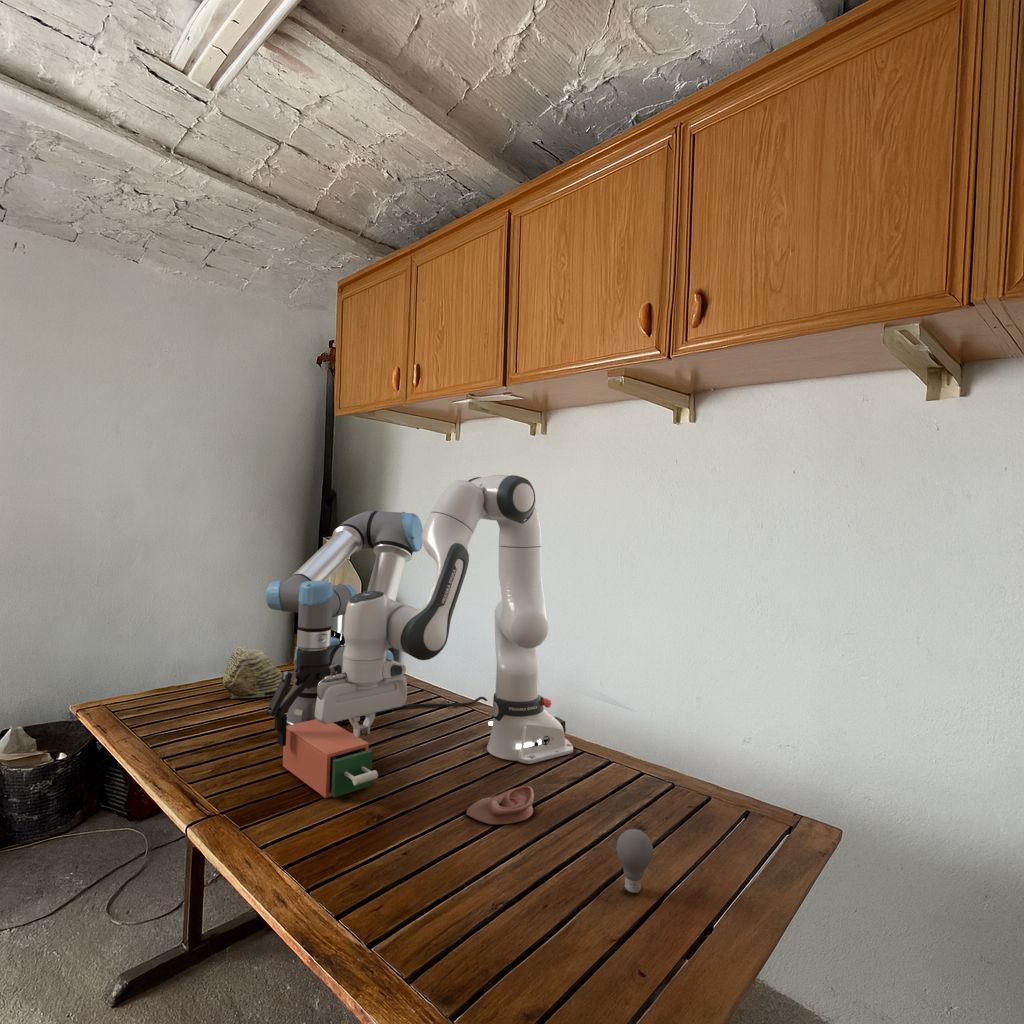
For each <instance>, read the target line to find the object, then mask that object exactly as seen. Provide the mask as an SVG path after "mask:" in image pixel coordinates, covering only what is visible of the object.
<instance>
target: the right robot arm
mask: <svg viewBox="0 0 1024 1024" xmlns="http://www.w3.org/2000/svg"><path fill="white" fill-rule="evenodd" d="M538 512H539V511H538V509H537V508H536V492H535V489H534V487H533V485H532V483H531V481H530V480H528V479H527V478H525V477H523V476H520V475H515V474H512V475H511V474H510V475H508V474H507V475H505V474H493V475H487V476H482V477H481V476H477V477H473V478H470V479H468V480H465V479H464V480H463V479H458V480H455V481H453V482H451V483H450V484H449V485H448V486H447V487H446V488H445V490H444V491H443V492H442V494H441V495H440V497H439V498H438V500H437V501H436V502H435V504H434V506H433V507H432V510H431V511H430V513H429V516H428V517H427V519H426V521H425V523H424V526H423V527H422V529H423V532H422V536H421V538H422V543H423V544H422V547H423V548H424V550H425V551H426V553H427V554H428V555H429V556H430V558H432V560H434V562H435V563H436V567H437V568H436V569H437V570H436V576H435V578H434V580H433V583H432V585H431V589H430V592H429V595H428V597H427V600H426V602H425V604H424V605H423V606H422V607H421V608H417V607H414V606H411V605H408V604H404V603H401V602H399V601H397V600H396V601H394V600H392V599H390V598H388V597H387V596H385V594H384V593H383V592H380V591H367V590H365V591H361V592H357V594H355V595H354V596H352V597H351V598H350V599H349V601H348V604H347V607H346V612H345V614H344V622H343V638H344V646H345V649H344V652H343V666H342V673H341V674H336V675H333V676H326V677H324V679H323V680H321V681H320V682H319V683H318V686H317V700H316V707H315V717H316V719H317V720H318V721H320V722H321V723H323V724H329V723H333V722H338V721H342V720H343V721H345V720H348V721H349V723H350V724H351V726H352V728H353V729H352V730H353V733H352V734H354V736H356V737H359V738H360V737H363V736H367V735H370V733H371V726H372V724H373V722H374V721H375V719H376V714H375V713H376V712H380V711H384V710H388V709H393V708H397V707H401V706H403V705H406V702H407V699H408V682H407V678H406V676H405V674H406V670H407V667H406V665H405V664H404V663H403V664H402V663H401V662H399V661H396V660H394V661H393V660H389V659H386V650H387V649H388V648H389V649H392V648H393V649H395V650H397V651H399V652H400V651H401V652H403V653H404V654H405V653H406V654H407V655H408V656H410V657H412V658H415V659H416V660H419V661H428V660H431V659H434V658H435V657H437V656H438V655H439V654H440V653H441V652H442V651H443V649H444V648H445V647H446V645H447V642H448V639H449V634H450V628H451V623H452V622H451V621H452V617H453V614H454V611H455V608H456V604H457V602H458V598H459V595H460V593H461V590H462V587H463V584H464V581H465V578H466V574H467V571H468V568H469V563H470V553H469V552H468V551H469V545H470V542H471V540H472V537H473V535H474V533H475V530H476V528H477V526H478V524H479V521H480V520H486V521H487V520H489V521H496V522H497V524H498V529H499V532H498V581H499V587H500V594H501V599H500V601H498V603H497V604H496V606H495V609H494V616H493V617H494V643H495V644H494V645H495V659H496V661H495V663H496V670H495V692H494V693H493V701H492V717H493V719H492V721H488V726H491V729H490V736H489V739H488V743H487V745H486V751H487V752H488V753H489V754H490V755H492V756H494V757H496V758H499V759H502V760H508V761H515V762H519V763H521V764H522V763H523V764H527V765H532V764H536V763H539V762H544V761H547V760H551V759H555V758H559V757H563V756H566V755H570V754H573V753H574V745H573V744H572V743H571V741H570V740H568V739H567V738H566V732H567V729H566V721H565V720H563V719H562V718H560V717H559V716H553V715H552V714H550V712H548V711H547V710H546V709H545V708H551V706H552V701H551V699H549V698H548V697H543V696H542V695H540V694H539V683H540V682H539V681H540V663H539V657H538V649H537V647H539V646H540V645H542V644H543V643H544V642H545V640H546V639H547V637H548V635H549V622H548V617H547V607H546V600H545V592H544V585H543V575H542V574H543V573H542V570H543V569H542V565H543V564H542V561H543V560H542V550H543V549H542V548H543V547H542V544H543V543H542V541H543V539H542V529H541V521H540V515H539V513H538ZM323 681H325V682H323ZM544 707H545V708H544ZM363 716H365V718H364V721H363V723H362V724H359V722H360V721H361V717H363Z"/></svg>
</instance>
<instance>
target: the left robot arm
mask: <svg viewBox="0 0 1024 1024" xmlns="http://www.w3.org/2000/svg"><path fill="white" fill-rule="evenodd" d="M422 532H423V524H422V521H421V518H420V517H419V516H418V515H417V514H416V513H413V512H405V511H402V512H401V511H400V512H399V511H382V510H381V511H380V510H367V511H364V512H360V513H357V514H355V515H354V516H352V517H350V518H348V519H346V520H345V521H343V522H342V523H341V524H339V525H338V526H337V527H336V528H335V529H334V530H333V532H332V537H330V538H329V539H328V540H327V541H326V542H325V543H324V544H323V545H322V546H321V547H320V548H319V549H318V550H316V552H315V553H314V554H312V555H311V557H310V558H308V559H307V561H305V563H303V565H302V566H300V567H299V568H298V569H297V570H296V571H295V572H294V573H293V574H292V575H290V576H289V578H287V580H282V579H280V580H273V581H272V582H270V584H269V585H268V586H267V588H266V592H265V602H266V605H267V607H268V608H269V609H271V610H274V611H281V612H284V613H287V612H289V613H298V614H297V616H298V617H297V636H296V647H295V652H294V659H293V661H294V671H288V670H284V671H282V672H281V673H282V679H281V682H280V684H279V686H278V688H277V690H276V692H275V694H274V695H272V696H273V697H272V699H271V700H270V703H269V705H268V707H267V709H266V714H268V715H270V716H272V717H274V730H275V731H276V732H277V744H278V745H280V746H282V747H283V746H286V730H287V726H288V725H293V724H297V723H302V722H306V721H310V720H315V719H316V717H315V707H316V700H317V686H318V683H319V682H320V681H321V680H323V679H324V677H326V676H333V675H336V674H341V673H342V666H343V652H344V649H345V645H342V644H340V643H341V641H340V639H339V638H338V637H331V636H332V635H331V634H332V619H333V618H336V617H339V616H345V612H346V607H347V604H348V601H349V599H350V598H351V597H352V596H354V595H355V594H358V592H357V590H356V588H354V587H353V586H352V585H350V584H348V583H337V584H333V583H332V582H331V581H328V580H329V579H330V578H331V577H332V575H334V574H335V573H336V572H337V570H339V568H340V567H341V566H342V565H343V564H344V563H345V562H346V561H347V560H348V559H349V558H350V557H351V556H352V555H353V556H354V555H356V554H358V553H360V552H361V550H365V549H371V550H373V553H374V554H375V556H376V557H375V561H374V564H373V569H372V572H371V575H370V579H369V582H368V587H367V590H366V591H380V592H383V593H384V594H385V596H387V597H388V598H390V599H392V600H394V601H396V602H397V597H398V592H399V589H400V584H401V580H402V577H403V572H404V569H405V564H406V563H408V562H410V561H411V560H412V557H413V554H414V553H418V552H420V551H421V549H422V547H423V543H422V538H421V536H422ZM386 659H389V660H393V661H395V659H394V654H393V652H392V651H391V650H390V648H388V649H387V650H386ZM292 682H293V684H292V686H291V683H292ZM323 682H325V681H323ZM290 686H291V688H290ZM288 690H289V691H288ZM480 700H483V701H484V702H488V700H489V699H487V698H486V697H485V696H478V697H477V698H475V699H474V700H472V701H467V702H457V703H456V702H454V703H449V702H447V703H411V704H410V703H409V704H404V705H403V706H401V707H397V708H393V709H388V710H384V711H380V712H376V713H375V715H378V714H382V713H386V712H389V711H392V710H393V711H394V710H398V709H399V710H400V709H406V708H418V707H461V706H462V707H464V706H471V705H474V704H476V703H477V702H479V701H480ZM473 701H474V702H473ZM343 722H344V720H342V721H338V722H333V723H334V724H336V725H338V726H340V727H341V725H342V723H343Z"/></svg>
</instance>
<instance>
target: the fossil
mask: <svg viewBox="0 0 1024 1024" xmlns="http://www.w3.org/2000/svg"><path fill="white" fill-rule="evenodd" d="M282 673H283V672H281V669H279V668H278V667H277V665H276V663H275V662H274V660H273V659H272V658H271V657H270V656H269V655H268V654H267V653H266V652H265V650H264V649H263V648H260V647H258V648H251V647H247V646H246V647H245V646H238V647H237V648H236V649H235V650H233V651H232V653H231V656H230V657H229V659H228V660H227V663H226V666H225V668H224V671H223V675H222V676H223V677H222V685H223V687H224V688H225V690H226V691H228V693H229V698H230V699H250V698H264V697H271V696H274V694H275V692H276V690H277V688H278V686H279V684H280V682H281V679H282Z"/></svg>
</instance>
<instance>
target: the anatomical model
mask: <svg viewBox="0 0 1024 1024" xmlns="http://www.w3.org/2000/svg"><path fill="white" fill-rule="evenodd" d="M534 801H535V793H534V789H533V788H532V786H530V785H521V786H517V787H515V788H512V789H511V788H510V789H508V790H506V791H504V792H502V793H500V794H498V795H495V796H491V797H485V798H482V799H479V800H477V801H476V802H474V803H472V804H471V805H470V806H469V807H468V808H467V810H466V812H465V813H466V815H467V816H468V817H470V818H472V819H474V820H476V821H478V822H481V823H484V824H487V825H508V824H514V823H518V822H522V821H525V820H527V819H529V818H530V817H532V815H533V813H534V808H533V803H534Z"/></svg>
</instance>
